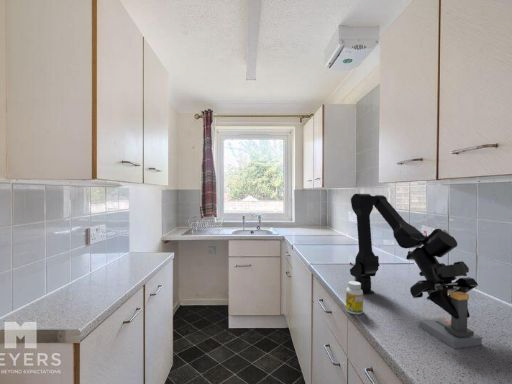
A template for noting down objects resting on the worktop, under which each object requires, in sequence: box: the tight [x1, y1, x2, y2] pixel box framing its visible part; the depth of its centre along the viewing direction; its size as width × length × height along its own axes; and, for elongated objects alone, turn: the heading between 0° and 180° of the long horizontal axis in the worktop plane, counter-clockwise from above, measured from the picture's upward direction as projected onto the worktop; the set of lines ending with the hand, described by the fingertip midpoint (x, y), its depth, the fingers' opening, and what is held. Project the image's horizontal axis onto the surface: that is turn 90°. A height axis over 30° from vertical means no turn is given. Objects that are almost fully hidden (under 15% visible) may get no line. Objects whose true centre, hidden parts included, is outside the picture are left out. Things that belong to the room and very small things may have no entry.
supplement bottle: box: [345, 280, 364, 315], centre depth 89 cm, size 5×5×10 cm
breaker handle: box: [445, 292, 475, 337], centre depth 72 cm, size 4×5×11 cm
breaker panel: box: [419, 317, 483, 349], centre depth 75 cm, size 11×9×2 cm
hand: (463, 318), depth 71 cm, fingers closed on breaker handle, 3 cm apart
